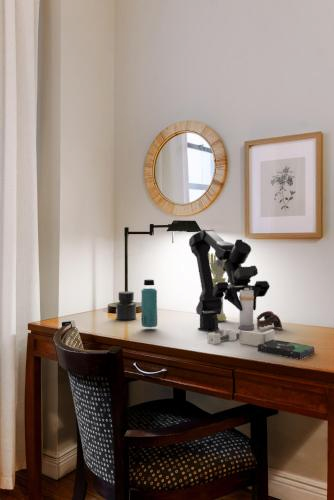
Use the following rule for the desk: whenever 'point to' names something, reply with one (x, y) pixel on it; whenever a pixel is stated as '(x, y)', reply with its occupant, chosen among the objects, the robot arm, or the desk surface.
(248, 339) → the end holder
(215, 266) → the trophy
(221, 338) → the cable
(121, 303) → the ink bottle
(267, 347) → the disk drive
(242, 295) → the white squeeze bottle
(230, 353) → the desk surface
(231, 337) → the cable clips
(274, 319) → the dark brown curved piece
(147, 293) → the beverage bottle
